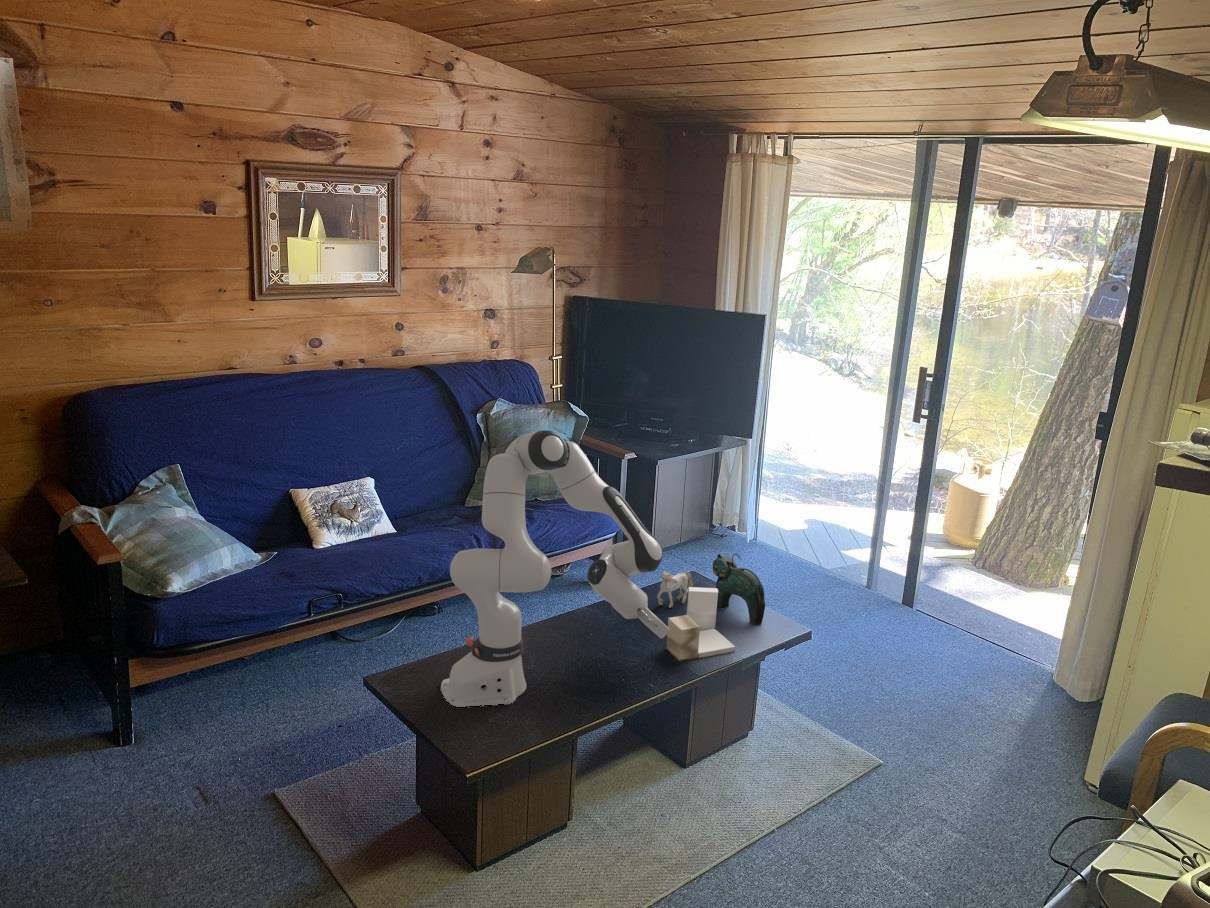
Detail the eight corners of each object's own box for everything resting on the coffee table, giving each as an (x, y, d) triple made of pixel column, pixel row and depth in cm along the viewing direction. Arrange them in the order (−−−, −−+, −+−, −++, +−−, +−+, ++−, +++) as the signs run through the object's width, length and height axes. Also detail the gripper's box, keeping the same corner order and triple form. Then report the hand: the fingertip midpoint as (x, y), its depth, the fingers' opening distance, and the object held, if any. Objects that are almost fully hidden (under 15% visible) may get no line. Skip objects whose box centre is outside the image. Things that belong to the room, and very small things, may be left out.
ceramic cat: (707, 605, 309) (712, 547, 303) (721, 600, 313) (726, 543, 307) (754, 628, 294) (759, 568, 289) (768, 622, 298) (773, 563, 293)
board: (698, 658, 275) (699, 653, 274) (679, 639, 285) (679, 634, 285) (734, 651, 280) (735, 646, 279) (714, 633, 290) (714, 628, 290)
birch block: (679, 661, 272) (681, 630, 270) (666, 649, 279) (668, 617, 276) (697, 658, 275) (700, 626, 272) (684, 645, 282) (686, 614, 279)
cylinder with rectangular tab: (714, 619, 299) (716, 584, 296) (716, 632, 290) (719, 596, 287) (685, 618, 299) (687, 582, 296) (686, 631, 291) (689, 595, 287)
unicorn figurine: (647, 614, 301) (649, 575, 297) (674, 592, 317) (676, 555, 313) (667, 620, 297) (670, 580, 294) (694, 598, 314) (697, 560, 310)
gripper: (656, 609, 256) (685, 637, 263) (623, 579, 274) (652, 605, 281) (640, 627, 256) (670, 654, 262) (609, 596, 274) (638, 622, 280)
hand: (661, 629), depth 272 cm, fingers closed
